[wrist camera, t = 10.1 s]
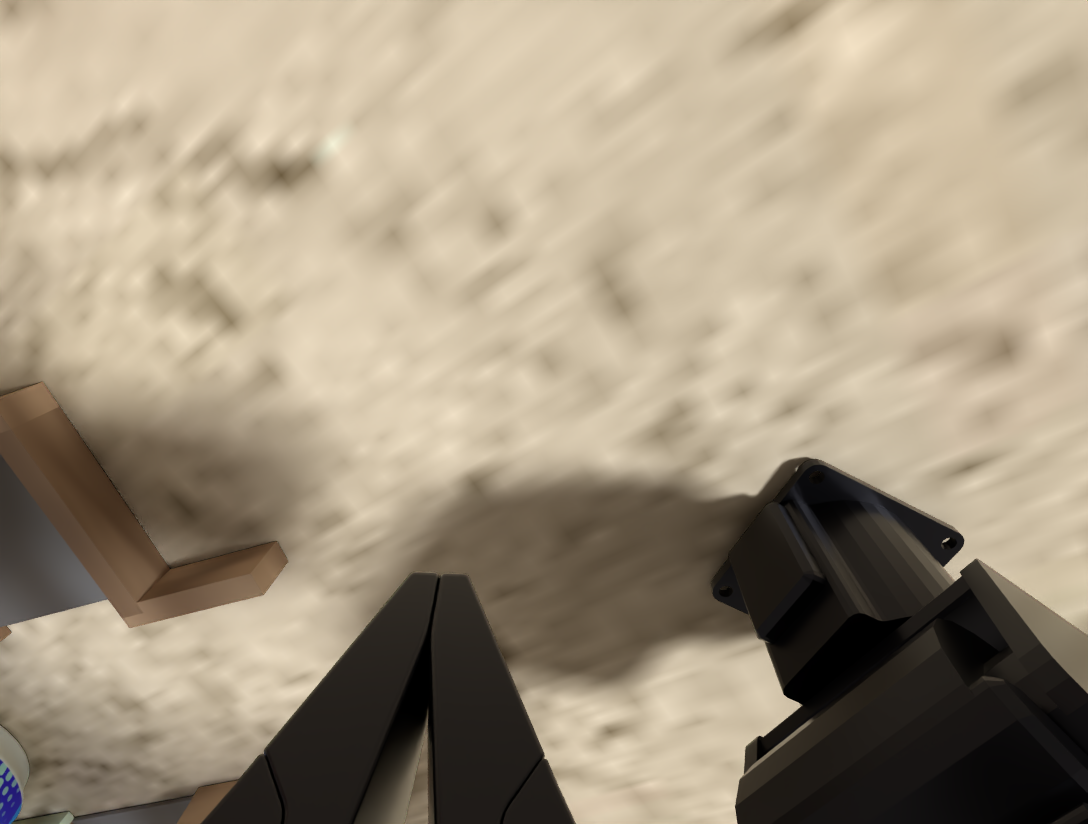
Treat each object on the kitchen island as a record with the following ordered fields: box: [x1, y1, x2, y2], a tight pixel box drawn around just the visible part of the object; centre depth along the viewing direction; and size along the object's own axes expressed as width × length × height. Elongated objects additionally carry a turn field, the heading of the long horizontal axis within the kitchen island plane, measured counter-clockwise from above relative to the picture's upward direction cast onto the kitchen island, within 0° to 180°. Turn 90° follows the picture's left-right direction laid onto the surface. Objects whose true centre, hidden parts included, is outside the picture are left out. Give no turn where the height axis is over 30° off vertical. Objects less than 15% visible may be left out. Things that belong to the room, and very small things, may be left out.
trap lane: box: [0, 382, 288, 824], centre depth 27 cm, size 28×30×4 cm
